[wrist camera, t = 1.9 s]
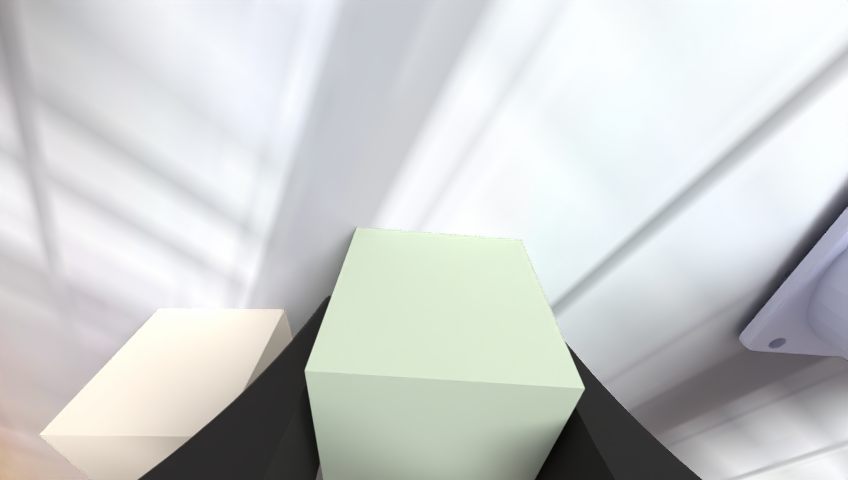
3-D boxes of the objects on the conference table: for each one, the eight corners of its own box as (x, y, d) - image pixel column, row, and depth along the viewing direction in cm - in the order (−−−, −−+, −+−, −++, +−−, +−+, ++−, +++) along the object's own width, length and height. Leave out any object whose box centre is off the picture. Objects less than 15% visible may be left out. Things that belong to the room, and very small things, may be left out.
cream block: (285, 307, 12) (219, 436, 8) (308, 384, 15) (265, 512, 11) (160, 306, 12) (38, 435, 8) (204, 383, 15) (125, 510, 11)
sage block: (521, 239, 10) (585, 388, 6) (490, 349, 13) (520, 505, 9) (356, 226, 10) (304, 370, 6) (360, 340, 13) (326, 495, 9)
